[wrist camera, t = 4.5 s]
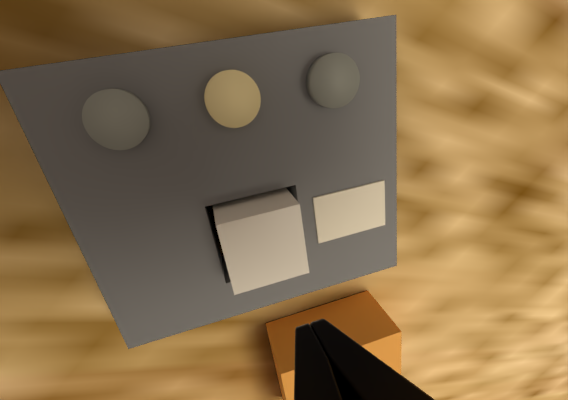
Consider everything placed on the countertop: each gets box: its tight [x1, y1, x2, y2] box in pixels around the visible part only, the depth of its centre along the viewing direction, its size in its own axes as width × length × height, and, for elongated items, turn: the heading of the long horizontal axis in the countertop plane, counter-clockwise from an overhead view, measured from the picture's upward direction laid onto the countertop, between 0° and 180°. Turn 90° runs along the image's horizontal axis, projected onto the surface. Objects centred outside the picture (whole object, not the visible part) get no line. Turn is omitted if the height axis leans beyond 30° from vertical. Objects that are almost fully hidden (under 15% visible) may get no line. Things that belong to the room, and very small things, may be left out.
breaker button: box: [213, 187, 309, 295], centre depth 14 cm, size 3×3×4 cm
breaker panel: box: [0, 15, 397, 349], centre depth 14 cm, size 14×12×3 cm
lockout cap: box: [266, 291, 401, 400], centre depth 20 cm, size 7×7×4 cm
